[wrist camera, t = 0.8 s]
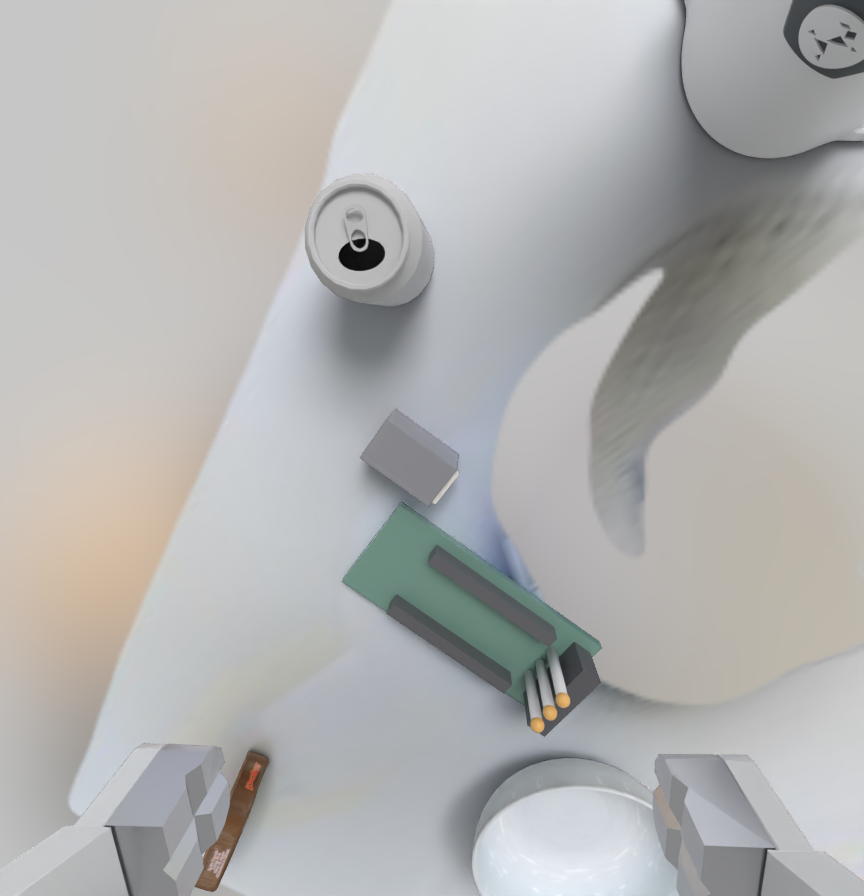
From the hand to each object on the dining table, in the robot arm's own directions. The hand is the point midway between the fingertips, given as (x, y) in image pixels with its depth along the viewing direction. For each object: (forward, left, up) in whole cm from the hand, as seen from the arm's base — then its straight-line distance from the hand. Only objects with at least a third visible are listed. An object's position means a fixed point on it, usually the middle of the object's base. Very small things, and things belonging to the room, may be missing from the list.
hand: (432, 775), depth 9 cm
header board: (+15, +12, -35) cm, 40 cm away
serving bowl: (+28, +35, -35) cm, 57 cm away
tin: (+50, +6, -35) cm, 62 cm away
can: (-7, -13, -35) cm, 38 cm away
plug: (+5, -2, -35) cm, 36 cm away
